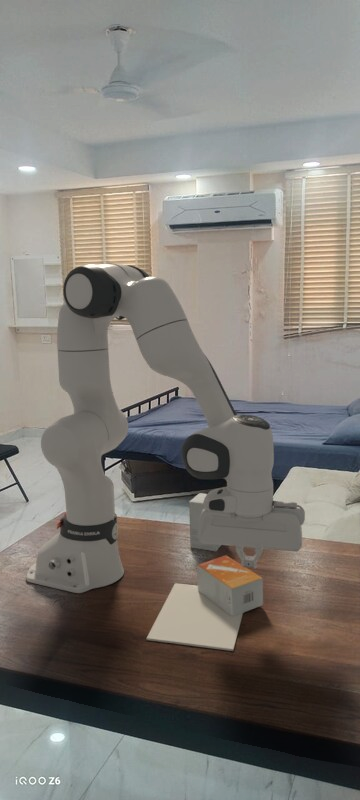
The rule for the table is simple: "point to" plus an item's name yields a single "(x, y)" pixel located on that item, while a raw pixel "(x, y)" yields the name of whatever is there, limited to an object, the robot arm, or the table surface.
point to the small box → (230, 585)
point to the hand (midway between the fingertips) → (249, 566)
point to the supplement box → (195, 513)
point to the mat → (194, 621)
